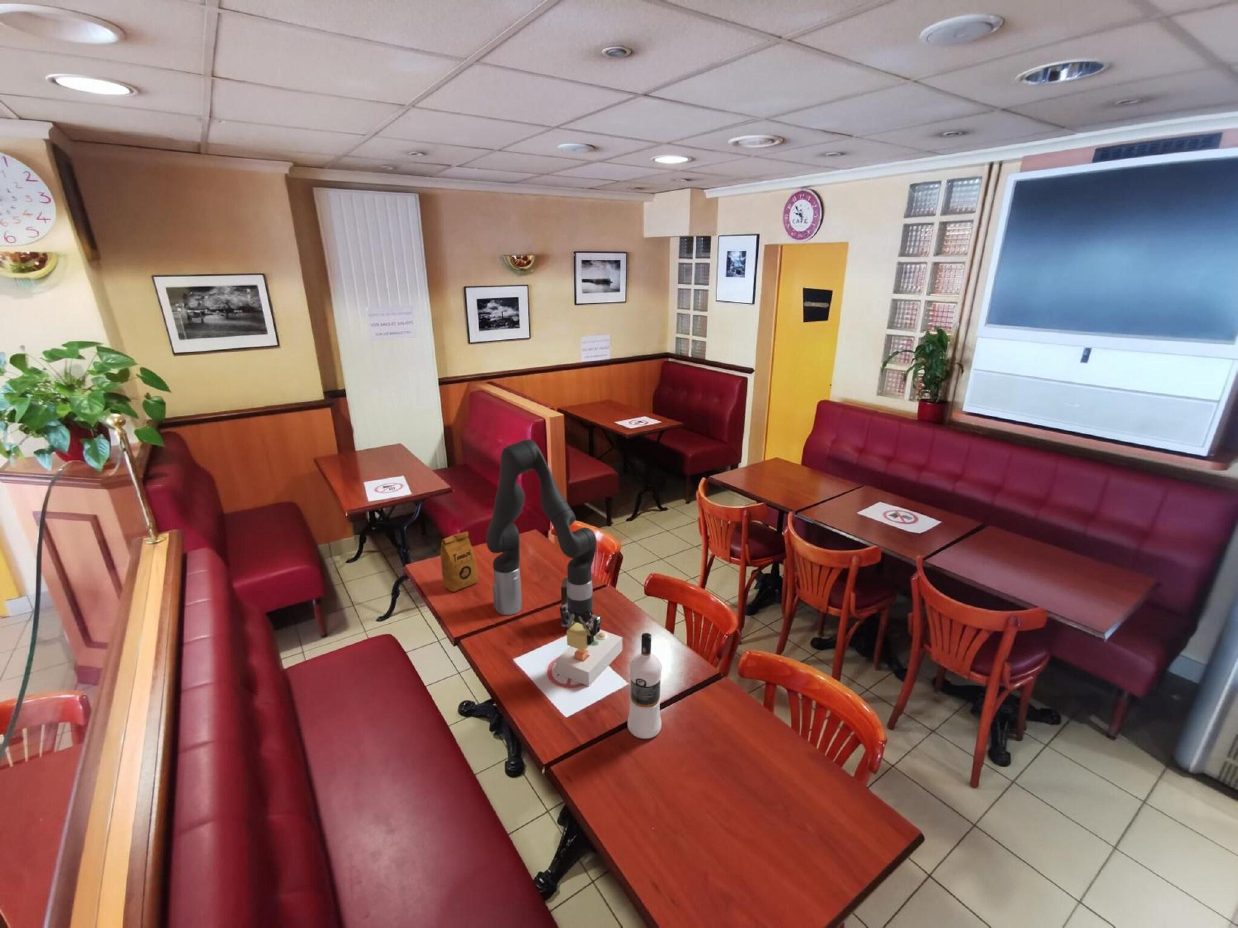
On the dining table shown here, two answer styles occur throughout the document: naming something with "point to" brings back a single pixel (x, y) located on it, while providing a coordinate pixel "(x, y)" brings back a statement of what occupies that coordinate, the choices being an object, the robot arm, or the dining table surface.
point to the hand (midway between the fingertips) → (580, 640)
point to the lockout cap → (577, 637)
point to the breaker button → (581, 655)
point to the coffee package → (458, 562)
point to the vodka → (645, 692)
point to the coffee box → (565, 596)
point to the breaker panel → (590, 658)
